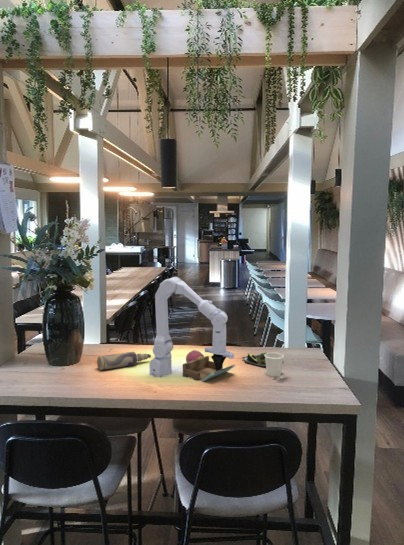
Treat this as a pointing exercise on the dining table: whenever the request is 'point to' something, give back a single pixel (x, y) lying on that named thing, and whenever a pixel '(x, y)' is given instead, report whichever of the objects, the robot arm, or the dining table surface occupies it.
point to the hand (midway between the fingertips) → (218, 371)
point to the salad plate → (256, 360)
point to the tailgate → (218, 372)
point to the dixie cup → (274, 364)
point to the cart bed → (199, 368)
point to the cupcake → (193, 355)
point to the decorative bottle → (120, 360)
